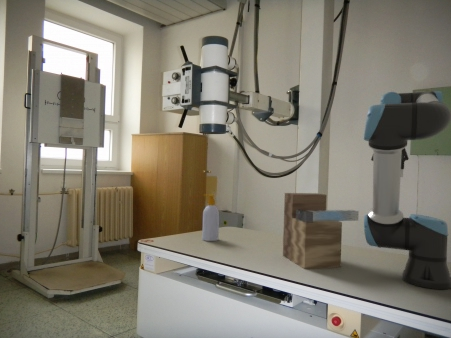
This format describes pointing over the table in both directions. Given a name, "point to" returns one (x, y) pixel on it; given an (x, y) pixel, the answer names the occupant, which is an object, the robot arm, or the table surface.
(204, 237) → the soap bottle
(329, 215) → the steel bar
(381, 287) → the table surface
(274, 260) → the table surface
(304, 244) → the walnut step stand
